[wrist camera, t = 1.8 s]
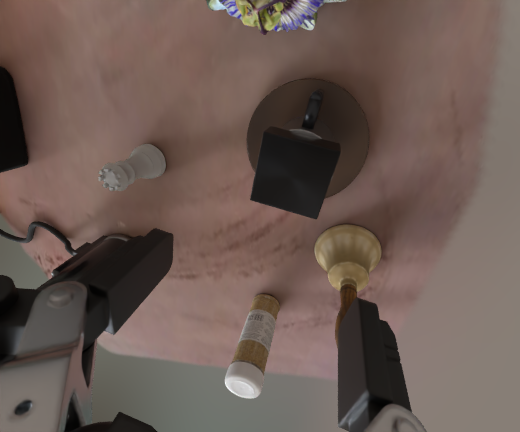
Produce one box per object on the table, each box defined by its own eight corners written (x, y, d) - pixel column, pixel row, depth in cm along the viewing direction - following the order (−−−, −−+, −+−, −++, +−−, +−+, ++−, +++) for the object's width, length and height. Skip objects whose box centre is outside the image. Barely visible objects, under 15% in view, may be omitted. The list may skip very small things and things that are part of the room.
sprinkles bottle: (253, 310, 44) (224, 394, 32) (252, 290, 42) (222, 372, 30) (280, 315, 43) (260, 404, 31) (281, 295, 41) (260, 382, 29)
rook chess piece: (131, 152, 35) (82, 171, 28) (153, 136, 33) (106, 152, 26) (152, 181, 36) (110, 205, 30) (174, 166, 35) (134, 189, 28)
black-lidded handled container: (323, 180, 29) (319, 224, 21) (270, 166, 30) (245, 202, 21) (352, 95, 25) (362, 106, 16) (289, 81, 25) (267, 83, 17)
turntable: (241, 181, 33) (238, 184, 32) (261, 65, 27) (258, 65, 26) (342, 210, 32) (342, 214, 31) (389, 95, 25) (392, 95, 24)
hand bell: (322, 279, 37) (316, 397, 24) (307, 230, 34) (289, 333, 20) (385, 272, 34) (420, 403, 21) (375, 218, 31) (408, 329, 17)
